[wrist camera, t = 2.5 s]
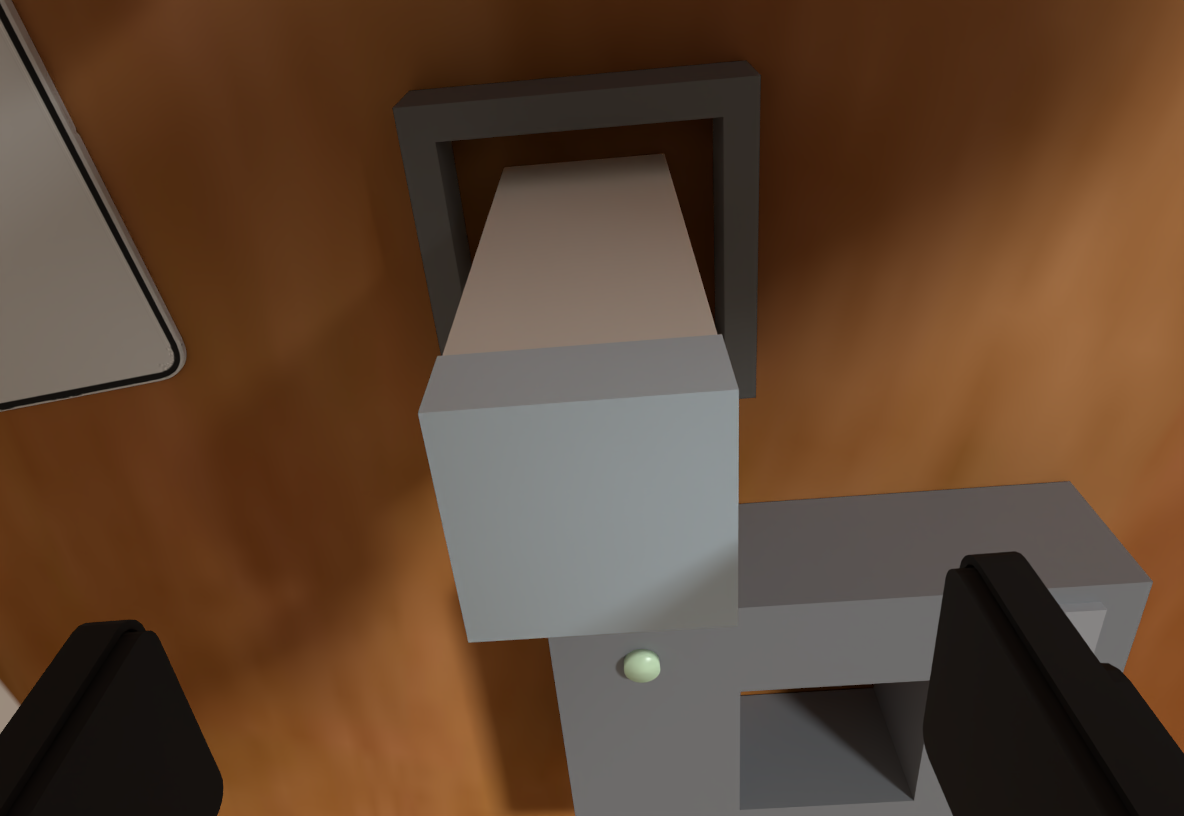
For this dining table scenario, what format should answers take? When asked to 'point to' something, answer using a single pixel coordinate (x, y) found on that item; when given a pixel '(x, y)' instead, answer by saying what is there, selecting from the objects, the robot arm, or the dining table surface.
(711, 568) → the plug
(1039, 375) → the dining table surface
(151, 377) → the smartphone
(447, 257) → the dark square frame
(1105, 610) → the port panel
